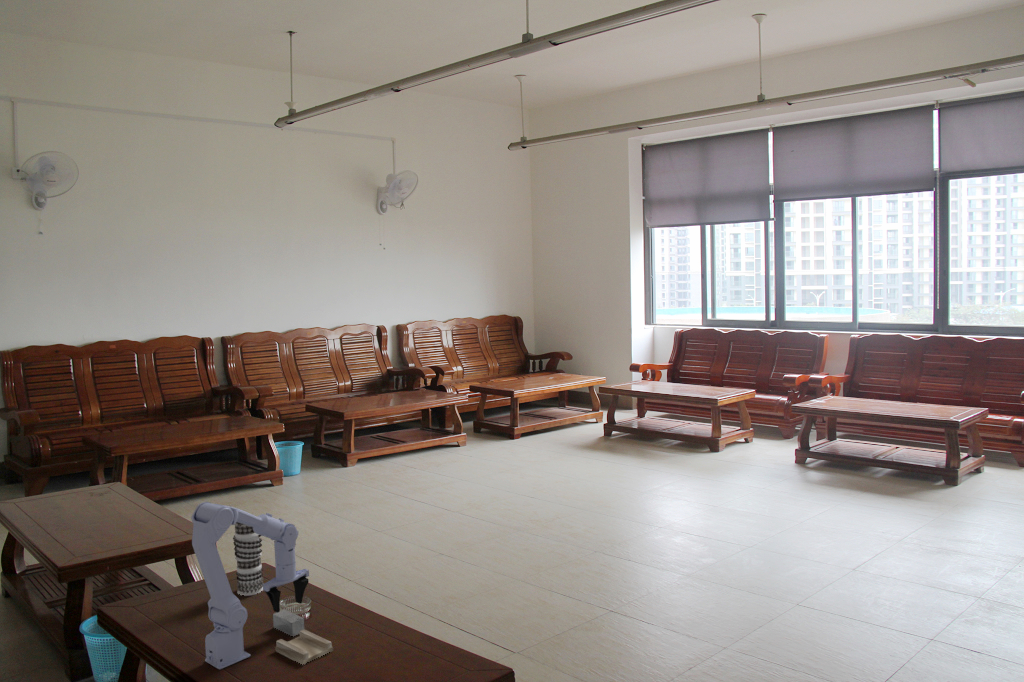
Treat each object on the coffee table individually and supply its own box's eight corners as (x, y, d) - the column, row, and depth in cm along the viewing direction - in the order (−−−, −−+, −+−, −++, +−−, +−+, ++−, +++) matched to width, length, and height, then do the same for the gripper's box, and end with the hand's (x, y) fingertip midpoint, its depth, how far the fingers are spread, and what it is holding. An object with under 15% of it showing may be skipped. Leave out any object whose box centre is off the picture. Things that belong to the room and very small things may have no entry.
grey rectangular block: (292, 637, 227) (292, 622, 227) (273, 628, 234) (272, 613, 233) (304, 632, 230) (303, 618, 230) (285, 623, 237) (284, 609, 236)
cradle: (302, 665, 210) (302, 655, 210) (275, 651, 219) (275, 641, 219) (333, 651, 218) (332, 641, 218) (305, 637, 226) (305, 628, 226)
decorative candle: (249, 583, 268) (245, 512, 266) (270, 587, 265) (266, 515, 262) (230, 593, 260) (225, 520, 258) (251, 597, 256) (247, 523, 254)
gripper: (298, 552, 238) (300, 595, 240) (255, 566, 227) (258, 611, 229) (312, 557, 234) (314, 601, 235) (269, 572, 223) (272, 618, 224)
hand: (287, 606), depth 231 cm, fingers open, 7 cm apart
